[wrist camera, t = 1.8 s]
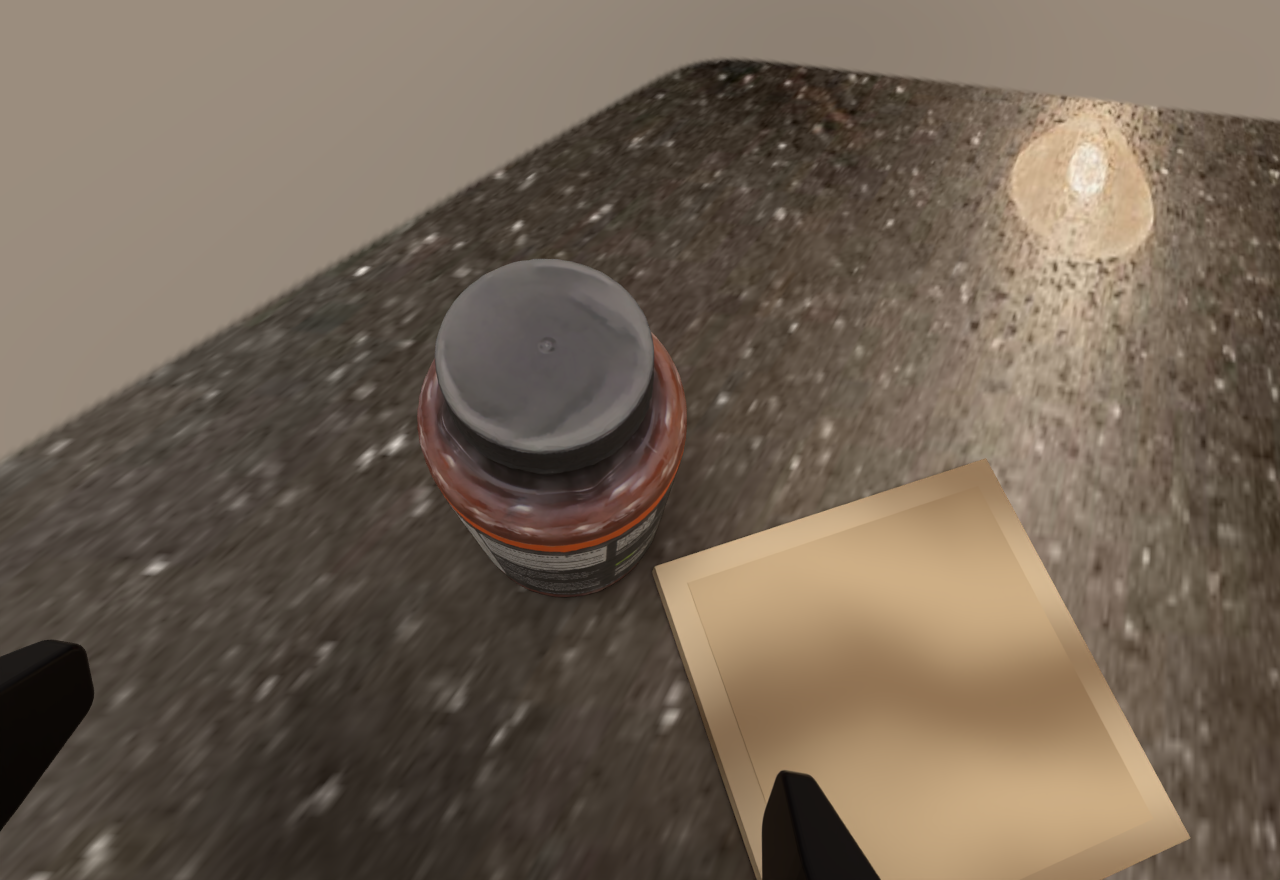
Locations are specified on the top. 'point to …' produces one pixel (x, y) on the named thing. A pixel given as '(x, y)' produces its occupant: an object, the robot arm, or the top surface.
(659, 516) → the supplement bottle
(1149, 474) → the top surface
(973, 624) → the coaster
